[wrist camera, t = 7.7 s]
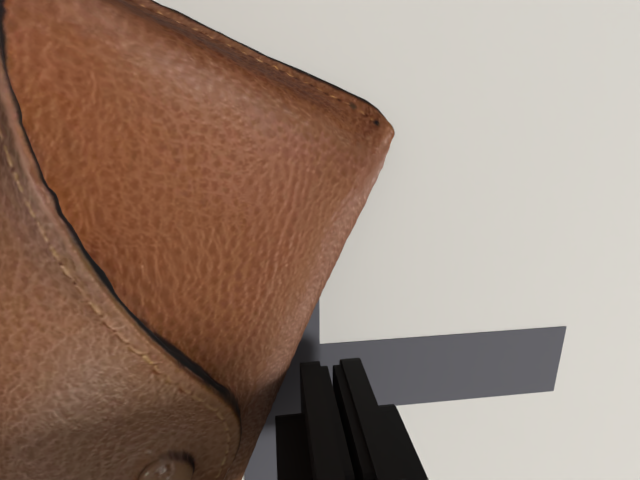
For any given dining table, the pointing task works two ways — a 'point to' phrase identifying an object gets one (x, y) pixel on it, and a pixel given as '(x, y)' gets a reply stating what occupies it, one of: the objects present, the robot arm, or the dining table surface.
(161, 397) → the sunglasses case
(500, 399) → the letter mat
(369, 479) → the robot arm
